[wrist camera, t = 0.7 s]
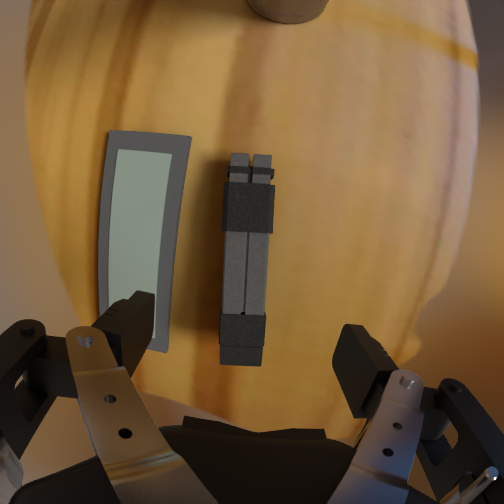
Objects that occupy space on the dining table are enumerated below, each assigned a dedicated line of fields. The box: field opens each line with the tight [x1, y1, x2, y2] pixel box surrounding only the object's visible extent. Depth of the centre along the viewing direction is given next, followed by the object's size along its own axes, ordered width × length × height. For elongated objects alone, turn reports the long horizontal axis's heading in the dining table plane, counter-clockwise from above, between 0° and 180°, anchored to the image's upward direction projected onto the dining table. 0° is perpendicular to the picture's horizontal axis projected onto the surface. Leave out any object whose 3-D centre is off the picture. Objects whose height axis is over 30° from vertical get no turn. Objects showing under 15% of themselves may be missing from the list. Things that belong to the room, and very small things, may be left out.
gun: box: [219, 153, 275, 366], centre depth 29 cm, size 4×20×10 cm, turn 177°
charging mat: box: [98, 130, 192, 353], centre depth 30 cm, size 25×9×1 cm, turn 170°
